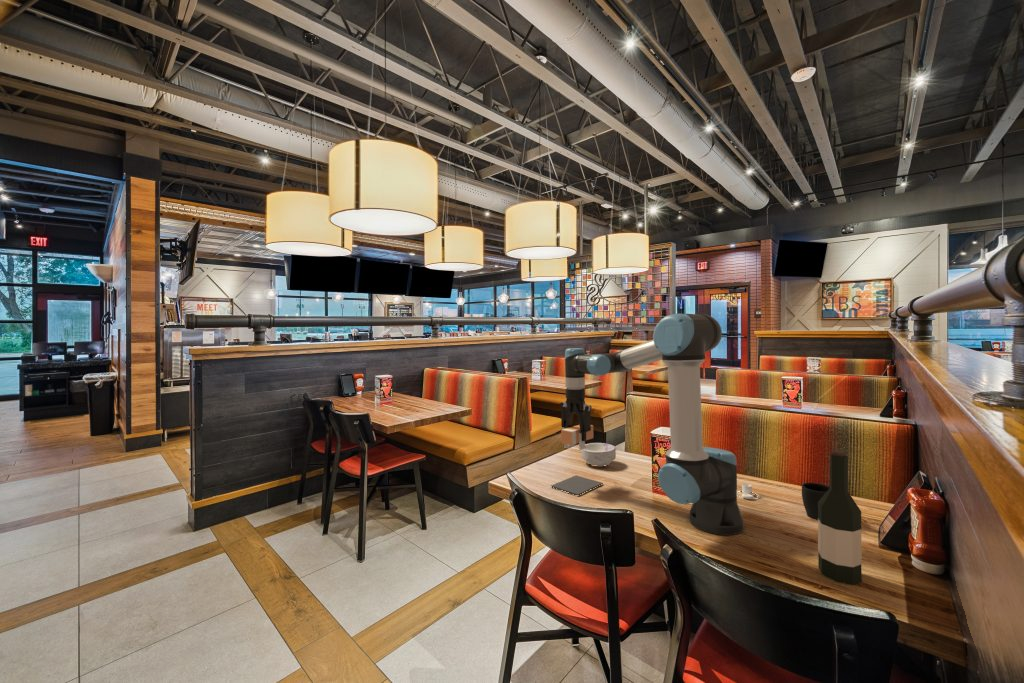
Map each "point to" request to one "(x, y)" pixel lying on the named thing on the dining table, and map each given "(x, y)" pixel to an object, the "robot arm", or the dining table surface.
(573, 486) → the mat
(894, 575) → the dining table surface
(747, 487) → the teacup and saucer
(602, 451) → the grey bowl
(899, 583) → the dining table surface
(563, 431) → the orange wooden block
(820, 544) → the wine bottle
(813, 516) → the mug
